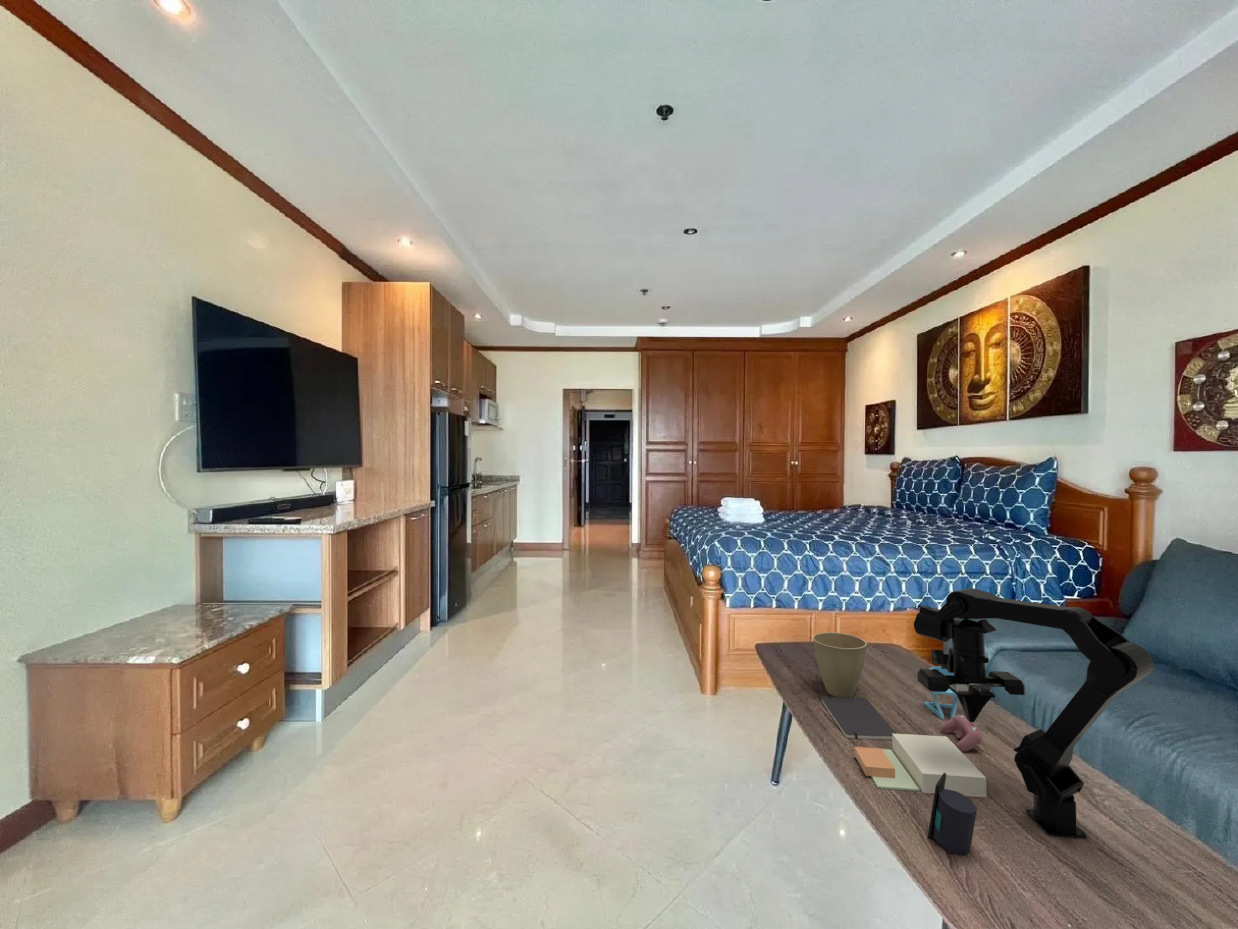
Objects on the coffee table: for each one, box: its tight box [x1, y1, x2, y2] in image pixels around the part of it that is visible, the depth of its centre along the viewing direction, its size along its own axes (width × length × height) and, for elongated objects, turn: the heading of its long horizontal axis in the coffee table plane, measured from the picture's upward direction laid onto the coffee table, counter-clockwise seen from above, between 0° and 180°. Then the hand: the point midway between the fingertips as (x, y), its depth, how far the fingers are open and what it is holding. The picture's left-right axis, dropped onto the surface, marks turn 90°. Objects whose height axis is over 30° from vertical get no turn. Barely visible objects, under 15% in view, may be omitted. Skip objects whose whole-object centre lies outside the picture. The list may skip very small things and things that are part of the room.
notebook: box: [820, 696, 898, 741], centre depth 135 cm, size 13×2×21 cm
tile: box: [853, 746, 895, 778], centre depth 112 cm, size 8×6×2 cm
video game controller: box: [940, 713, 983, 753], centre depth 122 cm, size 10×5×7 cm, turn 170°
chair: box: [923, 665, 959, 720], centre depth 137 cm, size 8×8×12 cm
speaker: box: [927, 773, 978, 856], centre depth 90 cm, size 8×6×10 cm
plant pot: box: [812, 632, 868, 697], centre depth 150 cm, size 15×15×16 cm
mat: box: [870, 748, 921, 792], centre depth 112 cm, size 15×8×1 cm, turn 172°
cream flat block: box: [891, 733, 988, 798], centre depth 110 cm, size 16×12×4 cm
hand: (970, 721), depth 107 cm, fingers closed
